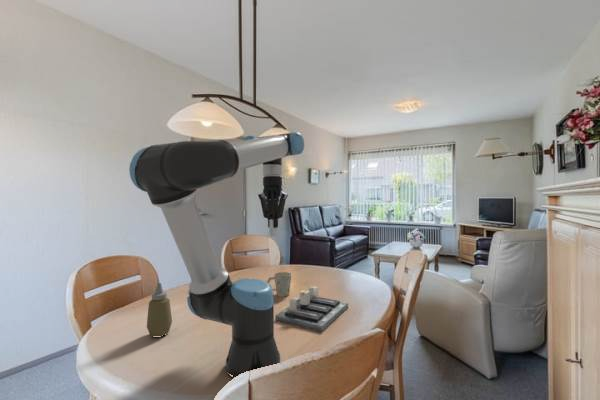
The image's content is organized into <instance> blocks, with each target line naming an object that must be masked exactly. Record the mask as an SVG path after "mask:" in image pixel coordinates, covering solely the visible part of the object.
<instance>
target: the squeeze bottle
mask: <svg viewBox="0 0 600 400" xmlns="http://www.w3.org/2000/svg"><path fill="white" fill-rule="evenodd" d="M167 296H168V294H167V292H166V291H164V289H163V285H162V283H161V282H157V283H156V287H155V292H153V293H152V294H151V299H150V301H149V302H148V308H147V309H148V310H147V319H146V329H147V331H148V334H149V336H150V335H151V336H162V335H165V334H167V333H168V332H169V333H170V329H171V327H172V323H173V317H172V309H171V302H170V301H171V300H170V298H169V297H167ZM169 333H168V334H169ZM168 334H167V335H168ZM151 336H150V337H151ZM165 336H166V335H165Z"/></svg>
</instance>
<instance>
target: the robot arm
mask: <svg viewBox="0 0 600 400" xmlns="http://www.w3.org/2000/svg"><path fill="white" fill-rule="evenodd" d="M304 149H305V140H304V137H303V135H302V134H301V133H300V132H297V131H295V132H292V131H291V132H289V133H288V132H287V133H280V134H272V135H265V136H255V135H246V136H245V137H243V138H242V140H239V141H233V142H230V141H228V140H225V139H219V140H201V141H200V140H183V141H182V140H181V141H177V142H169V143H161V144H155V145H152V144H151V145H149V146H147V147H142V148H141V149H140V150H138V151H136V153H135V154H134V155H133V157H132V158H131V161H130V163H129V168H128V169H129V170H128V171H129V177H130V180H131V182H132V183H133V184H134V186H135V187H136V188H137V189H139V190H140V191H143V192H145V193H147V196H148V197H149V201H150V203H151V204H152V206H154V207H155V206H156V207H158V208H160V210H161V212H162V214H163V216H164V219H165V221H166V223H167V226H168V228H169V230H170V232H171V234H172V237H173V239H174V243H175V245H176V247H177V249H178V252H179V253H180V256H181V258H182V261H183V263H184V265H185V268H186V270H187V272H188V275H189V277H190V280H191V281H190V282H189V286H188V288H189V289H188V293H187V294H188V296H187V297H186V298H187V299H186V301H187V302H186V303H187V306H188V309H189V310H190V312H191V313H192V314H193V315H195V316H196V317H199V318H200V319H203V320H206V321H207V320H208V321H213V322H217V323H219V324H224V325H228V326H231V343H230V346H229V349H228V353H227V356H226V359H225V371H226V370H227V372H228V373H229V374H231V375H233V378H234V377H236V376H238V375H239V374H241V373H244V372H246V371H250V370H253V369H257V368H261V367H265V366H269V365H273V364H277V363H280V364H281V354H280V351H279V350H278V346H277V342H276V340H275V335H274V334H275V333H274V332H275V331H274V329H275V325H274V324H275V323H274V321H275V319H274V318H275V316H274V313H275V312H274V309H275V307H274V306H275V305H274V304H275V298H274V291H273V289H274V288H272V286H271V285H270V283H269V284H268V283H267V281H264V280H261V279H258V278H247V277H246V278H240V279H237V280H235V281H232V280H231V277H230V275H229V272H228V270H227V269H226V268H224V267H221V264H220V262H219V260H218V257H217V254H216V253H215V252H216V251H215V250H214V246H213V244H212V241H211V238H210V236H209V234H208V231H207V230H208V229H207V227H206V225H205V223H204V220H203V217H202V215H201V212H200V209H199V206H198V204H197V202H196V198H195V195H196V193H197V191H198V189H201V188H205V187H207V186H210V185H213V184H216V183H218V182H221V181H225V180H226V179H230V178H232V177H234V176H236V174H238V172H239V171H242V170H245V169H249V168H252V167H255V166H258V165H261V164H262V176H263V177H262V185H263V189H262V192H261V193H258V195H257V196H258V198H259V201H260V206H261V210H262V215H263V218H264V219H265V218H266V219H267V227H268V228H269V237H277V234H278V233H277V230H278V229H277V228H279V219H281V218H283V216H284V210H285V205H286V200H287V198H288V197H289V194H288V193H285V192H284V191H283V188H282V186H283V177H282V175H283V164H282V162H283V161H282V159H283V158H285V157H289V156H293V157H294V156H298V155H301V154H302V153H303V152H304ZM227 372H226V373H227ZM233 378H232V379H233Z"/></svg>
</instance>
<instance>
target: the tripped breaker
mask: <svg viewBox="0 0 600 400" xmlns="http://www.w3.org/2000/svg"><path fill="white" fill-rule="evenodd" d="M299 298H300V304H302V305H308V304H309V303H310V291H309V290H305V289H303V290H300V292H299Z"/></svg>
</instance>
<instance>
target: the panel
mask: <svg viewBox="0 0 600 400" xmlns="http://www.w3.org/2000/svg"><path fill="white" fill-rule="evenodd" d="M308 291H310V303H309V304H308V305H302V304H300V297H297V296H292V297H290V298H289V306H288V307H286V308H285V309H283V310H282V311H280V312H279V313H277V314H275V316H274V318H275V319H274V321H276V322H281V323H285V324H289V325H293V326H297V327H300V328H305V329H307V330H313V331H316V332H317V331H318V332H323V331H325V330H326V329H327V328H328V327H329V326H330V325H331V324H332V323H333V322H335V321H336V319H338V318H339V317H340V316H341V315H342V314H343V313H345V311H346V310H347V309H348V308H349V302H345V301H341V300H337V299H331V298H325V297H321V296H319V286H316V285H312V286H309V289H308Z"/></svg>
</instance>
